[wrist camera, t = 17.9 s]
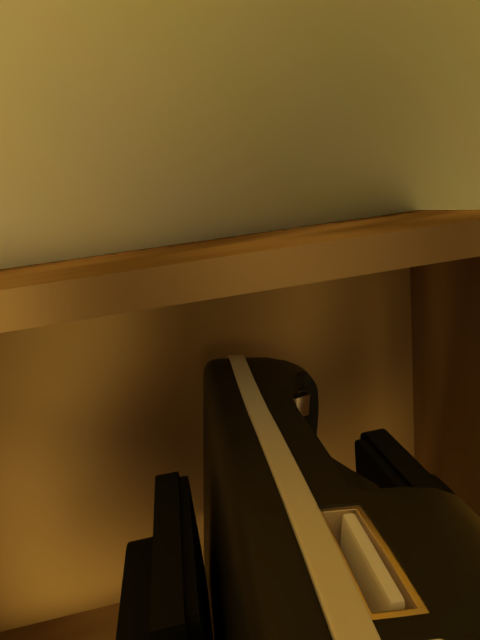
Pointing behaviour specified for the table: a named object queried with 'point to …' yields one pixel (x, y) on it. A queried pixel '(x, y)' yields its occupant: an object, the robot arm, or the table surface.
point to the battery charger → (320, 526)
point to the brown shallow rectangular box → (187, 383)
